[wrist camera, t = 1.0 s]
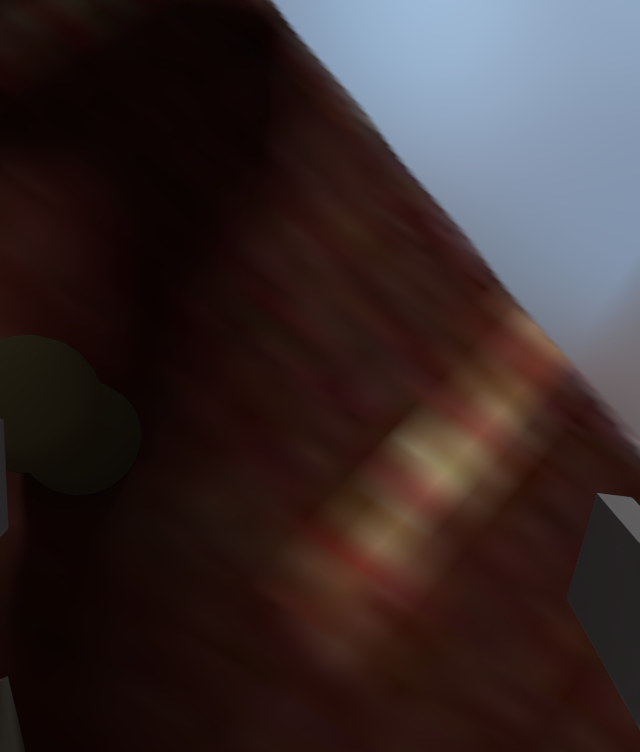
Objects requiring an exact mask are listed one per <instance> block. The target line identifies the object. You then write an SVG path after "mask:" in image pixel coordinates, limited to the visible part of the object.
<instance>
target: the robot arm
mask: <svg viewBox="0 0 640 752" xmlns="http://www.w3.org/2000/svg"><path fill="white" fill-rule="evenodd" d="M7 530H8V508H7V486H6V465H5V443H4V421H3V419H0V536H2V535H3V534H4V533H5V532H6V531H7ZM567 600H568V602H569V604H570V605H571V607H572V609H573V611H574V613H575V614H576V616H577V618H578V620H579V622H580V623H581V625H582V627H583V629H584V631H585V632H586V634H587V636H588V638H589V640H590V641H591V643H592V645H593V647H594V649H595V650H596V652H597V654H598V656H599V658H600V659H601V661H602V663H603V665H604V667H605V668H606V670H607V672H608V674H609V676H610V677H611V679H612V681H613V683H614V685H615V687H616V688H617V690H618V692H619V694H620V696H621V697H622V699H623V701H624V703H625V705H626V706H627V708H628V710H629V712H630V714H631V715H632V717H633V719H634V721H635V723H636V724H637V726H638V728H639V730H640V506H639V505H638V504H637V503H636V502H635V501H634V499H633V498H631V497H623V496H615V495H607V494H599V493H597V495H596V498H595V502H594V505H593V509H592V512H591V516H590V519H589V523H588V526H587V529H586V533H585V536H584V540H583V543H582V547H581V550H580V554H579V557H578V560H577V564H576V567H575V571H574V574H573V578H572V581H571V585H570V588H569V592H568V595H567Z"/></svg>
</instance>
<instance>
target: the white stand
mask: <svg viewBox="0 0 640 752" xmlns="http://www.w3.org/2000/svg"><path fill="white" fill-rule="evenodd" d="M0 752H25V747H24V743H23V739H22V734H21V730H20V726H19V722H18V717H17V713H16V709H15V704H14V700H13V696H12V692H11V687H10V683H9V679H8V676H7V677H5V678H2V679H0Z"/></svg>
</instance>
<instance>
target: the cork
mask: <svg viewBox="0 0 640 752" xmlns="http://www.w3.org/2000/svg"><path fill="white" fill-rule="evenodd" d="M0 419H3V421H4V443H5V465H6V470H8V471H13V472H17V473H27V472H28V473H29V474H31V475H32V476H33V477H34V478H35V479H36V480H37V481H39V482H40V483H41V484H43V485H45V486H46V487H48V488H50V489H51V490H53V491H55V492H58V493H63V494H68V495H73V496H78V495H88V494H95V493H97V492H99V491H102V490H104V489H107V488H109V487H111V486H113V485H114V484H115V483H116V482H118V481H119V480H120V479H121V478H122V477H124V476H125V475H126V474H127V473H128V471H129V470H130V468H131V467H132V465H133V464H134V462H135V461H136V459H137V456H138V453H139V449H140V446H141V442H142V437H141V423H140V420H139V418H138V415H137V413H136V410H135V408H134V407H133V406H132V405H131V403H130V402H129V401H128V400H127V399H126V398H125V396H124V395H122V394H120V393H119V392H117V391H115V390H114V389H112V388H110V387H109V386H107V385H104V384H102V383H100V382H99V381H98V378H97V375H96V373H95V371H94V369H93V368H92V367H91V366H90V364H89V363H88V362H87V361H86V360H85V359H84V357H83V356H82V355H81V354H80V353H79V352H78V351H76V350H75V349H73V348H71V347H70V346H68V345H66V344H65V343H63V342H61V341H58V340H54V339H50V338H46V337H42V336H37V335H19V336H10V337H7V338H4V339H1V340H0Z"/></svg>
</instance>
